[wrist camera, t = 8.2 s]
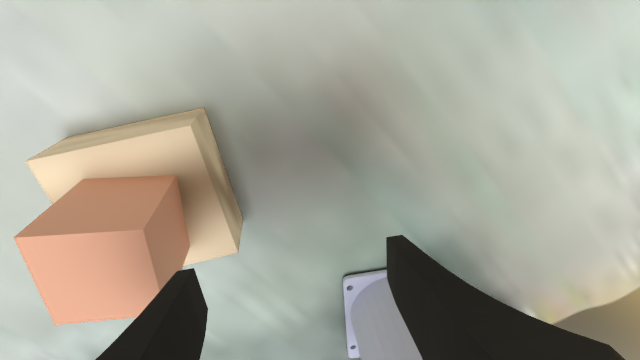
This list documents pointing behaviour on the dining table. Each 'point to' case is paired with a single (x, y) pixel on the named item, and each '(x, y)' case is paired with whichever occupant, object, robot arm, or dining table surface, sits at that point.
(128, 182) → the terracotta block
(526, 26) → the dining table surface
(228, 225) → the maple block
